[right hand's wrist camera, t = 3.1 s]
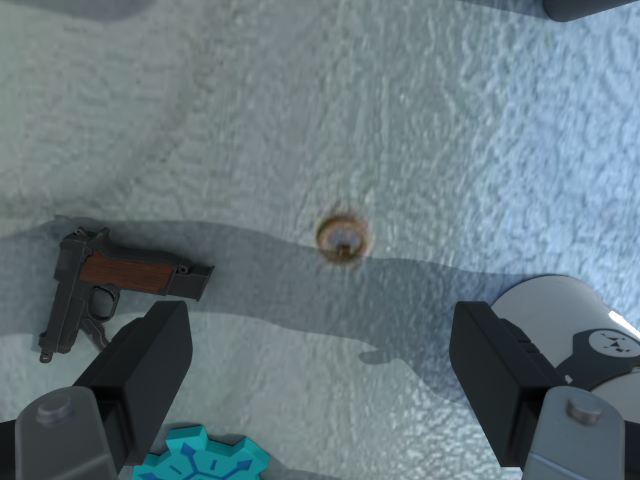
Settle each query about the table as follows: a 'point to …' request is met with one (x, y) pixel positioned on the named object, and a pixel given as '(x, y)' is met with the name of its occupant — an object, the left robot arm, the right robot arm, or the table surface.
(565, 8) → the dark grey cylinder
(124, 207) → the table surface
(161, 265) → the handgun
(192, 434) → the decorative ornament
